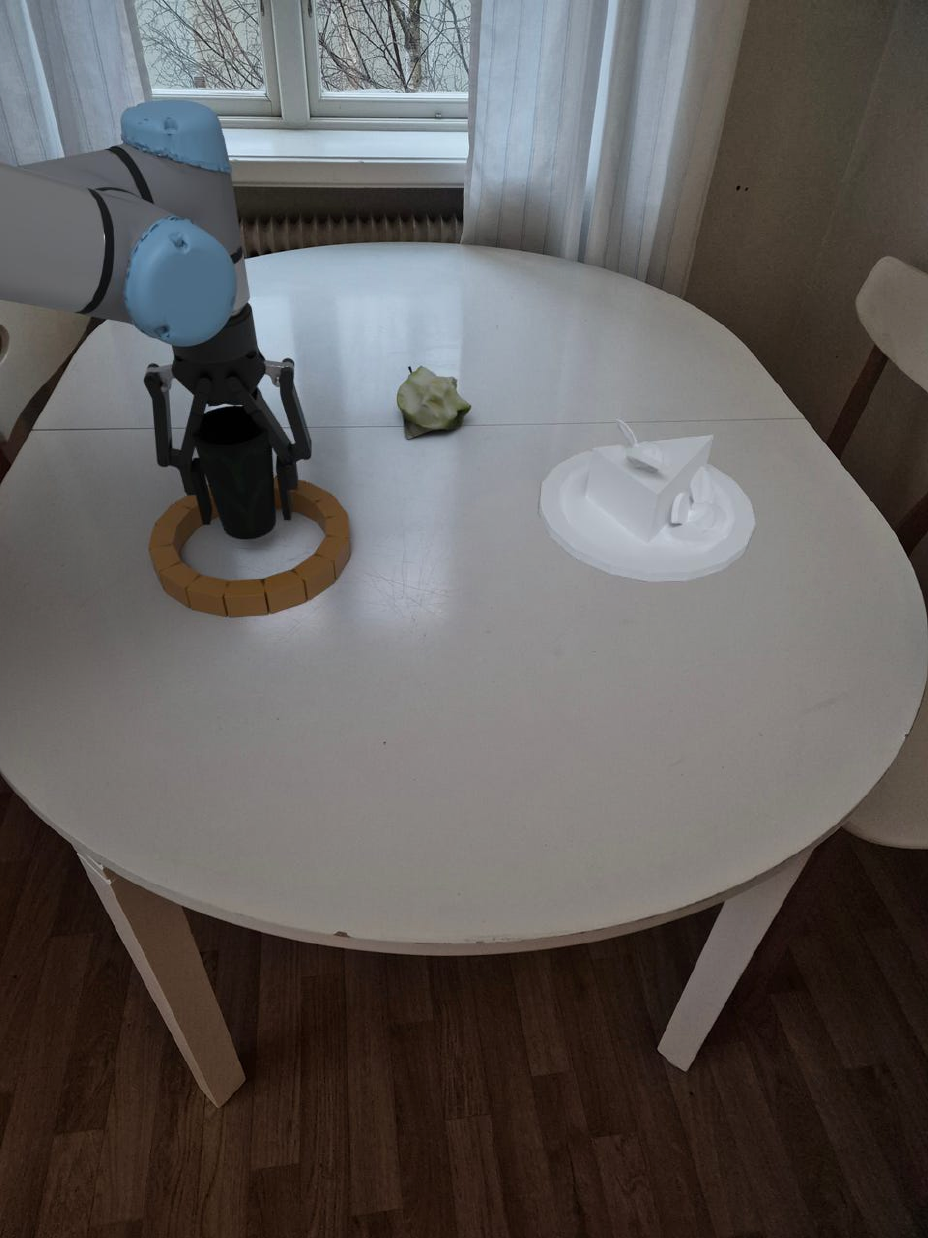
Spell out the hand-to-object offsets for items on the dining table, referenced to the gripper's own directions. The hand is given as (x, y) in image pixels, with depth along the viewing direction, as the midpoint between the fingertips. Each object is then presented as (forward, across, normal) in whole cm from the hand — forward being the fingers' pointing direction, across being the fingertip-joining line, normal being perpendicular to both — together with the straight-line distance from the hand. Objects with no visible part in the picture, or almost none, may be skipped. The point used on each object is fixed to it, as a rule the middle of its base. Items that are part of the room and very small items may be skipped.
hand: (248, 514), depth 91 cm
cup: (+1, 0, 0) cm, 1 cm away
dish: (+5, +45, +3) cm, 45 cm away
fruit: (+5, +22, +25) cm, 34 cm away
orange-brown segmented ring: (+5, 0, 0) cm, 5 cm away
